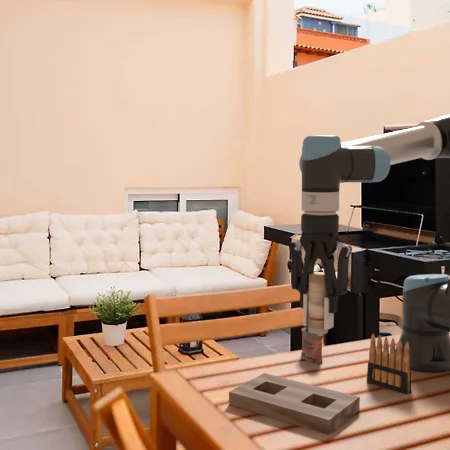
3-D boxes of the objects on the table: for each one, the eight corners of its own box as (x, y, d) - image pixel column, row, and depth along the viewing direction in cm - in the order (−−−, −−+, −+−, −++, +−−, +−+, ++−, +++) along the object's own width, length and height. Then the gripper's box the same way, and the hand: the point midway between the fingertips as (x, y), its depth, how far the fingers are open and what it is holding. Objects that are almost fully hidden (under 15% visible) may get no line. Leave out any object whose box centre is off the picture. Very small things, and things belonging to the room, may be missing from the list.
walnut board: (264, 385, 142) (264, 373, 142) (359, 410, 128) (359, 396, 127) (229, 404, 131) (228, 391, 130) (328, 434, 116) (329, 420, 116)
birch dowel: (313, 327, 127) (314, 271, 126) (331, 330, 124) (333, 273, 123) (303, 332, 124) (304, 274, 122) (322, 335, 121) (323, 276, 120)
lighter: (298, 355, 163) (298, 319, 162) (309, 353, 164) (309, 318, 163) (314, 364, 156) (314, 327, 155) (325, 363, 157) (325, 325, 156)
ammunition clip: (366, 382, 143) (367, 333, 142) (370, 380, 145) (371, 331, 143) (407, 395, 136) (408, 343, 134) (411, 392, 137) (413, 341, 136)
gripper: (273, 211, 124) (272, 323, 126) (351, 216, 113) (348, 337, 116) (292, 209, 129) (291, 315, 132) (367, 213, 119) (364, 329, 122)
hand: (318, 325), depth 124 cm, fingers closed on birch dowel, 4 cm apart
